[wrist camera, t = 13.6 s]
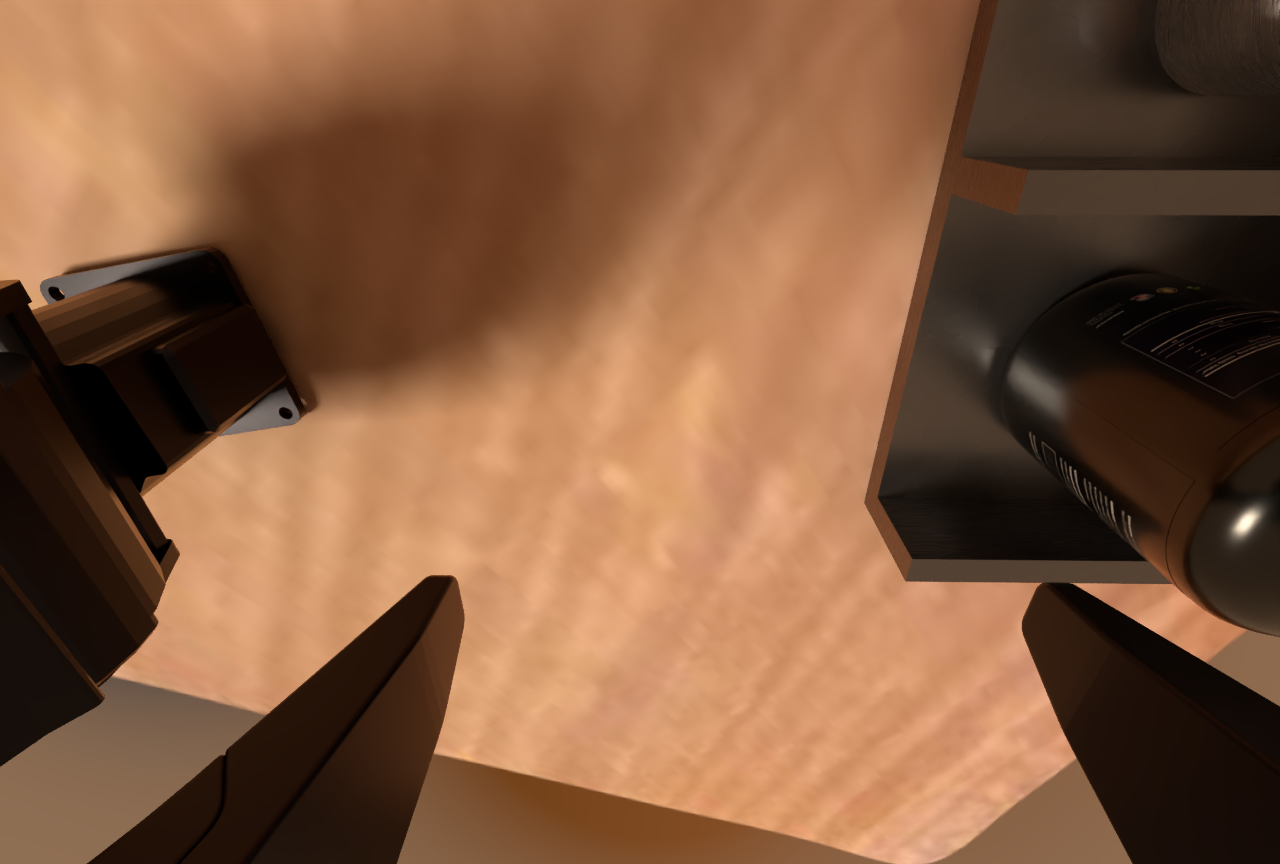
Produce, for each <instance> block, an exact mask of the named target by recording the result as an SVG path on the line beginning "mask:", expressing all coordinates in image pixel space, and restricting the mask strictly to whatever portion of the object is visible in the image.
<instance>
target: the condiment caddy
mask: <svg viewBox="0 0 1280 864" xmlns="http://www.w3.org/2000/svg"><path fill="white" fill-rule="evenodd" d="M1143 273H1153V274H1163V275H1169V276H1174V277H1179V278H1182V279H1185V280H1189V281H1192V282H1196V283H1199V284H1203V285H1206V286H1210V287H1213V288H1216V289H1219V290H1222V291H1225V292H1228V293H1232V294H1235V295H1238V296H1241V297H1244V298H1247V299H1251V300H1254V301H1257V302H1260V303H1263V304H1266V305H1269V306H1273V307H1276V308H1279V309H1280V0H981V3H980V7H979V11H978V16H977V20H976V24H975V29H974V33H973V37H972V42H971V46H970V50H969V55H968V59H967V63H966V67H965V72H964V76H963V80H962V85H961V89H960V93H959V98H958V102H957V106H956V111H955V115H954V119H953V123H952V128H951V132H950V136H949V141H948V145H947V149H946V154H945V158H944V162H943V166H942V171H941V175H940V179H939V184H938V188H937V192H936V197H935V201H934V205H933V210H932V214H931V218H930V222H929V227H928V231H927V235H926V240H925V244H924V248H923V253H922V257H921V261H920V266H919V270H918V274H917V278H916V283H915V287H914V291H913V296H912V300H911V304H910V309H909V313H908V317H907V322H906V326H905V330H904V334H903V339H902V343H901V347H900V352H899V356H898V360H897V365H896V369H895V373H894V378H893V382H892V386H891V390H890V395H889V399H888V403H887V408H886V412H885V416H884V421H883V425H882V429H881V433H880V438H879V442H878V446H877V451H876V455H875V459H874V464H873V468H872V472H871V477H870V481H869V485H868V489H867V494H866V498H865V502H864V503H865V505H866V507H867V509H868V511H869V513H870V515H871V516H872V518H873V520H874V522H875V524H876V526H877V528H878V530H879V532H880V534H881V535H882V537H883V539H884V541H885V543H886V545H887V547H888V549H889V551H890V553H891V554H892V556H893V558H894V560H895V562H896V564H897V566H898V568H899V570H900V572H901V574H902V575H903V577H904V579H905V581H920V582H1020V583H1045V582H1062V583H1120V584H1172V583H1171V582H1170V581H1169V580H1168V579H1167V578H1166V577H1165V576H1163V575H1162V574H1161V573H1160V572H1159V571H1158V570H1157V569H1156V568H1155V567H1153V566H1152V565H1151V564H1150V563H1149V562H1148V561H1147V560H1146V559H1145V558H1144V557H1142V556H1141V555H1140V554H1139V553H1138V552H1137V551H1136V550H1135V549H1134V548H1132V547H1131V546H1130V545H1129V544H1128V543H1127V542H1126V541H1125V540H1124V539H1123V538H1121V537H1120V536H1119V535H1118V534H1117V533H1116V532H1115V531H1114V530H1113V529H1111V528H1110V527H1109V526H1108V525H1107V524H1106V523H1105V522H1104V521H1103V520H1102V519H1100V518H1099V517H1098V516H1097V515H1096V514H1095V513H1094V512H1093V511H1092V510H1090V509H1089V508H1088V507H1087V506H1086V505H1085V504H1084V503H1083V502H1082V501H1081V500H1079V499H1078V498H1077V497H1076V496H1075V495H1074V494H1073V493H1072V492H1071V491H1069V490H1068V489H1067V488H1066V487H1065V486H1064V485H1063V484H1062V483H1061V482H1060V481H1058V480H1057V479H1056V478H1055V477H1054V476H1053V475H1052V474H1051V473H1050V472H1048V471H1047V470H1046V469H1045V468H1044V467H1043V466H1042V465H1041V464H1040V463H1039V462H1037V461H1036V460H1035V459H1034V458H1033V457H1032V456H1031V455H1030V454H1029V453H1028V452H1027V451H1026V450H1025V449H1024V448H1023V447H1022V446H1021V445H1020V444H1019V443H1018V442H1017V441H1016V440H1015V439H1014V437H1013V436H1012V435H1011V433H1010V432H1009V430H1008V428H1007V426H1006V424H1005V422H1004V419H1003V416H1002V412H1001V407H1000V387H1001V381H1002V377H1003V373H1004V370H1005V367H1006V365H1007V362H1008V360H1009V358H1010V356H1011V354H1012V352H1013V350H1014V349H1015V347H1016V345H1017V344H1018V342H1019V341H1020V340H1021V338H1022V337H1023V335H1024V334H1025V333H1026V332H1027V331H1028V329H1029V328H1030V327H1031V326H1032V325H1033V324H1034V323H1035V322H1036V321H1037V320H1038V319H1039V318H1040V317H1041V316H1042V315H1043V314H1044V313H1046V312H1047V311H1048V310H1049V309H1051V308H1052V307H1053V306H1054V305H1056V304H1057V303H1059V302H1060V301H1062V300H1063V299H1065V298H1066V297H1068V296H1070V295H1071V294H1073V293H1075V292H1077V291H1079V290H1081V289H1083V288H1085V287H1087V286H1090V285H1092V284H1095V283H1097V282H1100V281H1103V280H1106V279H1110V278H1113V277H1118V276H1123V275H1130V274H1143Z"/></svg>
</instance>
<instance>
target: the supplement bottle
mask: <svg viewBox="0 0 1280 864" xmlns="http://www.w3.org/2000/svg"><path fill="white" fill-rule="evenodd" d="M1000 407H1001V412H1002V416H1003V419H1004V422H1005V424H1006V426H1007V428H1008V430H1009V432H1010V433H1011V435H1012V436H1013V437H1014V439H1015V440H1016V441H1017V442H1018V443H1019V444H1020V445H1021V446H1022V447H1023V448H1024V449H1025V450H1026V451H1027V452H1028V453H1029V454H1030V455H1031V456H1032V457H1033V458H1034V459H1035V460H1036V461H1037V462H1039V463H1040V464H1041V465H1042V466H1043V467H1044V468H1045V469H1046V470H1047V471H1048V472H1050V473H1051V474H1052V475H1053V476H1054V477H1055V478H1056V479H1057V480H1058V481H1060V482H1061V483H1062V484H1063V485H1064V486H1065V487H1066V488H1067V489H1068V490H1069V491H1071V492H1072V493H1073V494H1074V495H1075V496H1076V497H1077V498H1078V499H1079V500H1081V501H1082V502H1083V503H1084V504H1085V505H1086V506H1087V507H1088V508H1089V509H1090V510H1092V511H1093V512H1094V513H1095V514H1096V515H1097V516H1098V517H1099V518H1100V519H1102V520H1103V521H1104V522H1105V523H1106V524H1107V525H1108V526H1109V527H1110V528H1111V529H1113V530H1114V531H1115V532H1116V533H1117V534H1118V535H1119V536H1120V537H1121V538H1123V539H1124V540H1125V541H1126V542H1127V543H1128V544H1129V545H1130V546H1131V547H1132V548H1134V549H1135V550H1136V551H1137V552H1138V553H1139V554H1140V555H1141V556H1142V557H1144V558H1145V559H1146V560H1147V561H1148V562H1149V563H1150V564H1151V565H1152V566H1153V567H1155V568H1156V569H1157V570H1158V571H1159V572H1160V573H1161V574H1162V575H1163V576H1165V577H1166V578H1167V579H1168V580H1169V581H1170V582H1171V583H1172V584H1173V585H1175V586H1176V587H1177V588H1178V589H1179V590H1180V591H1181V592H1183V593H1184V594H1185V595H1186V596H1187V597H1188V598H1190V599H1191V600H1192V601H1193V602H1195V603H1196V604H1197V605H1198V606H1200V607H1201V608H1202V609H1204V610H1205V611H1207V612H1208V613H1210V614H1211V615H1213V616H1215V617H1217V618H1219V619H1221V620H1223V621H1225V622H1228V623H1230V624H1232V625H1235V626H1238V627H1241V628H1244V629H1247V630H1250V631H1254V632H1257V633H1262V634H1266V635H1271V636H1275V637H1280V309H1279V308H1276V307H1273V306H1269V305H1266V304H1263V303H1260V302H1257V301H1254V300H1251V299H1247V298H1244V297H1241V296H1238V295H1235V294H1232V293H1228V292H1225V291H1222V290H1219V289H1216V288H1213V287H1210V286H1206V285H1203V284H1199V283H1196V282H1192V281H1189V280H1185V279H1182V278H1179V277H1174V276H1169V275H1163V274H1153V273H1143V274H1130V275H1123V276H1118V277H1113V278H1110V279H1106V280H1103V281H1100V282H1097V283H1095V284H1092V285H1090V286H1087V287H1085V288H1083V289H1081V290H1079V291H1077V292H1075V293H1073V294H1071V295H1070V296H1068V297H1066V298H1065V299H1063V300H1062V301H1060V302H1059V303H1057V304H1056V305H1054V306H1053V307H1052V308H1051V309H1049V310H1048V311H1047V312H1046V313H1044V314H1043V315H1042V316H1041V317H1040V318H1039V319H1038V320H1037V321H1036V322H1035V323H1034V324H1033V325H1032V326H1031V327H1030V328H1029V329H1028V331H1027V332H1026V333H1025V334H1024V335H1023V337H1022V338H1021V340H1020V341H1019V342H1018V344H1017V345H1016V347H1015V349H1014V350H1013V352H1012V354H1011V356H1010V358H1009V360H1008V362H1007V365H1006V367H1005V370H1004V373H1003V377H1002V381H1001V387H1000Z"/></svg>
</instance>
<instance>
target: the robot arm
mask: <svg viewBox="0 0 1280 864" xmlns="http://www.w3.org/2000/svg"><path fill="white" fill-rule="evenodd" d="M207 258H208V259H209V260H211V261H212V262H213V264H214V266H215V270H214V269H212V268H210V266H209V265H208V264H207V260H206V259H207ZM59 289H60V290H61V291H62V292H63V293H64V295H65V296H64V295H63V294H62V293H61V292H60V290H59ZM40 291H41V293H42V295H43V297H44V298H45V300H46V301H47V303H48V305H45V306H43V307H40V308H37V309H34V310H31V309H30V307H29V305H28V304H29V303H31V302H32V301H31V299H30V297H29V295H28V294H27V292H26V290H25V289H24V287H23V285H22V284H21V282H20V280H5V281H0V766H2V765H3V764H5V763H6V762H8V761H9V760H11V759H12V758H13V757H15V756H16V755H18V754H19V753H21V752H22V751H24V750H25V749H26V748H28V747H29V746H31V745H32V744H34V743H35V742H37V741H38V740H39V739H41V738H42V737H44V736H45V735H47V734H48V733H50V732H52V731H54V730H56V729H57V728H59V727H61V726H63V725H65V724H66V723H68V722H70V721H72V720H74V719H75V718H77V717H79V716H81V715H83V714H85V713H86V712H88V711H90V710H92V709H93V708H95V707H97V706H98V705H99V704H101V702H102V701H103V700H104V698H105V695H104V694H103V693H102V692H101V690H100V689H99V688H98V687H100V686H101V685H102V684H103V683H104V682H106V681H107V680H108V679H109V678H110V677H111V676H112V675H113V674H114V673H115V672H116V671H117V669H118V668H119V667H120V666H121V665H122V664H124V663H125V662H126V661H127V660H128V659H129V658H130V657H131V656H133V655H134V654H135V653H136V652H137V651H138V649H139V648H140V647H141V646H142V645H143V643H144V642H145V641H146V640H147V639H148V637H149V636H150V635H151V634H152V632H153V631H154V630H155V628H156V627H157V624H158V620H157V618H156V616H155V615H154V612H155V610H156V609H157V606H158V604H159V601H160V598H161V596H162V593H163V590H164V587H165V585H166V584H165V583H166V581H167V579H168V577H169V575H170V573H171V571H172V569H173V567H174V565H175V563H176V561H177V559H178V557H179V555H180V553H179V551H178V549H177V548H176V546H175V544H174V543H173V541H172V540H171V539H166V537H165V535H164V534H163V532H162V530H161V528H160V527H159V525H158V523H157V522H156V520H155V518H154V517H153V515H152V513H151V512H150V510H149V508H148V507H147V505H146V503H145V501H144V500H143V498H142V496H144V495H145V494H146V493H147V492H149V491H150V490H151V489H152V488H154V487H155V486H156V485H157V484H159V483H160V482H161V481H162V480H164V479H165V478H166V477H168V476H169V475H170V474H171V473H173V472H174V471H175V470H176V469H178V468H179V467H180V466H181V465H183V464H184V463H185V462H186V461H188V460H189V459H190V458H192V457H193V456H194V455H195V454H197V453H198V452H199V451H200V450H202V449H203V448H204V447H205V446H207V445H208V444H209V443H210V442H212V441H213V440H214V439H216V438H217V437H218V436H224V435H231V434H237V433H243V432H250V431H256V430H263V429H269V428H275V427H282V426H288V425H293V424H296V423H297V422H298V421H299V420H300V419H301V418H302V417H303V416H304V414H305V409H304V406H303V404H302V402H301V400H300V398H299V396H298V394H297V392H296V390H295V388H294V387H293V385H292V383H291V381H290V379H289V377H288V375H287V372H286V369H285V367H284V366H283V364H282V362H281V360H280V358H279V356H278V354H277V352H276V350H275V348H274V346H273V344H272V342H271V340H270V338H269V336H268V334H267V332H266V330H265V328H264V327H263V325H262V323H261V321H260V319H259V317H258V315H257V313H256V311H255V310H254V309H253V307H252V305H251V303H250V301H249V299H248V297H247V295H246V293H245V291H244V289H243V287H242V285H241V283H240V281H239V279H238V278H237V276H236V274H235V272H234V270H233V268H232V266H231V264H230V262H229V260H228V259H227V257H226V256H225V254H223V253H222V252H221V251H220V250H218V249H215V248H213V247H206V248H201V249H195V250H190V251H185V252H180V253H174V254H169V255H164V256H159V257H154V258H148V259H143V260H138V261H133V262H128V263H122V264H117V265H112V266H107V267H101V268H96V269H91V270H86V271H81V272H75V273H70V274H65V275H60V276H56V277H52V278H49V279H46V280H44V281H42V283H41V285H40ZM284 407H286V408H288V409H290V410H291V411H292V414H290V413H288V412H287V411H286V410H285V408H284ZM463 629H464V609H463V605H462V600H461V595H460V590H459V585H458V581H457V579H456V578H455V577H454V576H451V575H431V576H428V577H426V578H425V579H424V580H422V581H421V582H420V583H419V584H418V585H417V586H415V587H414V588H413V589H412V590H411V591H410V592H408V593H407V594H406V595H405V596H404V597H403V598H402V599H400V600H399V601H398V602H397V603H396V604H395V605H393V606H392V607H391V608H390V609H389V610H388V611H387V612H385V613H384V614H383V615H382V616H381V617H380V618H378V619H377V620H376V621H375V622H374V623H373V624H371V625H370V626H369V627H368V628H367V629H366V630H365V631H363V632H362V633H361V634H360V635H359V636H358V637H356V638H355V639H354V640H353V641H352V642H351V643H349V644H348V645H347V646H346V647H345V648H344V649H343V650H341V651H340V652H339V653H338V654H337V655H336V656H334V657H333V658H332V659H331V660H330V661H329V662H328V663H326V664H325V665H324V666H323V667H322V668H321V669H319V670H318V671H317V672H316V673H315V674H314V675H312V676H311V677H310V678H309V679H308V680H307V681H306V682H304V683H303V684H302V685H301V686H300V687H299V688H297V689H296V690H295V691H294V692H293V693H292V694H290V695H289V696H288V697H287V698H286V699H285V700H284V701H282V702H281V703H280V704H279V705H278V706H277V707H275V708H274V709H273V710H272V711H271V712H270V713H269V714H267V715H266V716H265V717H264V718H263V719H262V720H260V721H259V722H258V723H257V724H256V725H255V726H253V727H252V728H251V729H250V730H249V731H248V732H247V733H245V734H244V735H243V736H242V737H241V738H240V739H238V740H237V741H236V742H235V743H234V744H233V745H232V746H230V747H229V748H228V749H227V751H226V754H225V755H220V756H218V757H217V758H216V759H215V760H214V761H213V762H212V763H210V764H209V765H208V766H207V767H206V768H205V769H203V770H202V771H201V772H200V773H199V774H198V775H196V776H195V777H194V778H193V779H192V780H191V781H190V782H188V783H187V784H186V785H185V786H184V787H182V788H181V789H180V790H179V791H177V792H176V793H175V794H174V795H173V796H171V797H170V798H169V799H168V800H167V801H166V802H164V803H163V804H162V805H161V806H159V807H158V808H157V809H156V810H155V811H154V812H152V813H151V814H150V815H149V816H147V817H146V818H145V819H144V820H142V821H141V822H140V823H139V824H137V825H136V826H135V827H133V828H132V829H131V830H130V831H128V832H127V833H126V834H125V835H123V836H122V837H121V838H119V839H118V840H117V841H116V842H114V843H113V844H112V845H110V846H109V847H108V848H107V849H105V850H104V851H103V852H102V853H100V854H99V855H98V856H96V857H95V858H94V859H93V860H91V861H90V862H89V863H87V864H397V861H398V858H399V855H400V852H401V849H402V846H403V843H404V840H405V837H406V834H407V831H408V828H409V825H410V822H411V819H412V816H413V813H414V810H415V807H416V804H417V801H418V798H419V795H420V792H421V789H422V786H423V783H424V780H425V777H426V774H427V771H428V768H429V765H430V762H431V759H432V756H433V753H434V750H435V747H436V744H437V741H438V738H439V734H440V731H441V728H442V724H443V721H444V717H445V712H446V708H447V704H448V699H449V694H450V690H451V685H452V680H453V675H454V671H455V666H456V661H457V657H458V652H459V647H460V643H461V638H462V633H463ZM1022 632H1023V636H1024V638H1025V641H1026V643H1027V646H1028V648H1029V651H1030V653H1031V656H1032V658H1033V660H1034V663H1035V665H1036V668H1037V670H1038V673H1039V675H1040V677H1041V680H1042V682H1043V685H1044V687H1045V690H1046V692H1047V695H1048V697H1049V699H1050V702H1051V704H1052V707H1053V709H1054V712H1055V714H1056V716H1057V719H1058V721H1059V723H1060V725H1061V728H1062V730H1063V732H1064V734H1065V736H1066V738H1067V740H1068V742H1069V744H1070V746H1071V748H1072V750H1073V752H1074V754H1075V756H1076V758H1077V759H1078V761H1079V763H1080V765H1081V767H1082V769H1083V771H1084V773H1085V775H1086V776H1087V778H1088V780H1089V782H1090V784H1091V786H1092V788H1093V790H1094V792H1095V793H1096V795H1097V797H1098V799H1099V801H1100V803H1101V805H1102V807H1103V809H1104V811H1105V812H1106V814H1107V816H1108V818H1109V820H1110V822H1111V824H1112V826H1113V828H1114V830H1115V831H1116V833H1117V835H1118V837H1119V839H1120V841H1121V843H1122V845H1123V847H1124V848H1125V850H1126V852H1127V854H1128V856H1129V858H1130V860H1131V862H1132V864H1280V706H1278V705H1276V704H1275V703H1273V702H1271V701H1270V700H1268V699H1266V698H1265V697H1263V696H1261V695H1259V694H1258V693H1256V692H1254V691H1253V690H1251V689H1249V688H1248V687H1246V686H1244V685H1243V684H1241V683H1239V682H1238V681H1236V680H1234V679H1233V678H1231V677H1229V676H1227V675H1226V674H1224V673H1222V672H1221V671H1219V670H1217V669H1216V668H1214V667H1212V666H1211V665H1209V664H1207V663H1206V662H1204V661H1202V660H1200V659H1199V658H1197V657H1195V656H1194V655H1192V654H1190V653H1189V652H1187V651H1185V650H1184V649H1182V648H1180V647H1179V646H1177V645H1175V644H1174V643H1172V642H1170V641H1168V640H1167V639H1165V638H1163V637H1162V636H1160V635H1158V634H1157V633H1155V632H1153V631H1152V630H1150V629H1148V628H1147V627H1145V626H1143V625H1141V624H1140V623H1138V622H1136V621H1135V620H1133V619H1131V618H1130V617H1128V616H1126V615H1125V614H1123V613H1121V612H1120V611H1118V610H1116V609H1115V608H1113V607H1111V606H1109V605H1108V604H1106V603H1104V602H1103V601H1101V600H1099V599H1098V598H1096V597H1094V596H1093V595H1091V594H1089V593H1088V592H1086V591H1084V590H1082V589H1081V588H1079V587H1077V586H1076V585H1074V584H1071V583H1062V582H1045V583H1042V584H1040V585H1039V586H1038V587H1037V588H1036V590H1035V593H1034V595H1033V597H1032V599H1031V601H1030V604H1029V606H1028V608H1027V610H1026V612H1025V615H1024V617H1023V620H1022Z"/></svg>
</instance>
